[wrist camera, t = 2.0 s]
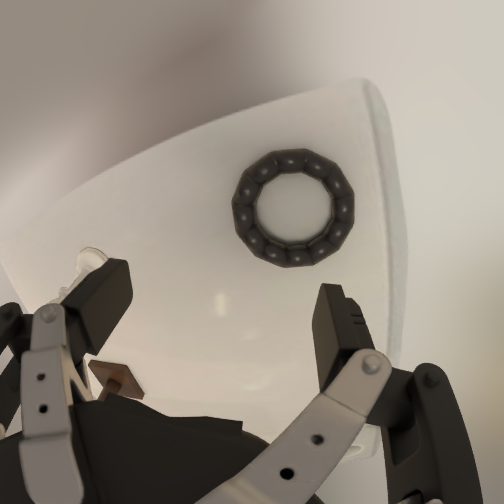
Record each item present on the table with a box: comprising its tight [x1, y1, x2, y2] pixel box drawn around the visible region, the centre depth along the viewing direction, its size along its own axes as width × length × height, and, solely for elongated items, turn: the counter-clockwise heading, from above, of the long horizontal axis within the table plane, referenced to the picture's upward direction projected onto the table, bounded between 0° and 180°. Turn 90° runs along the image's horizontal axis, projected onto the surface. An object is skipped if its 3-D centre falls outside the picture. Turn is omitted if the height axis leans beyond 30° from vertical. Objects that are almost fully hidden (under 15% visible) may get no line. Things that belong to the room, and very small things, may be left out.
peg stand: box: [88, 360, 144, 400], centre depth 29 cm, size 7×7×13 cm
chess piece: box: [47, 248, 108, 304], centre depth 22 cm, size 5×5×10 cm
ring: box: [231, 149, 355, 268], centre depth 21 cm, size 10×10×2 cm
